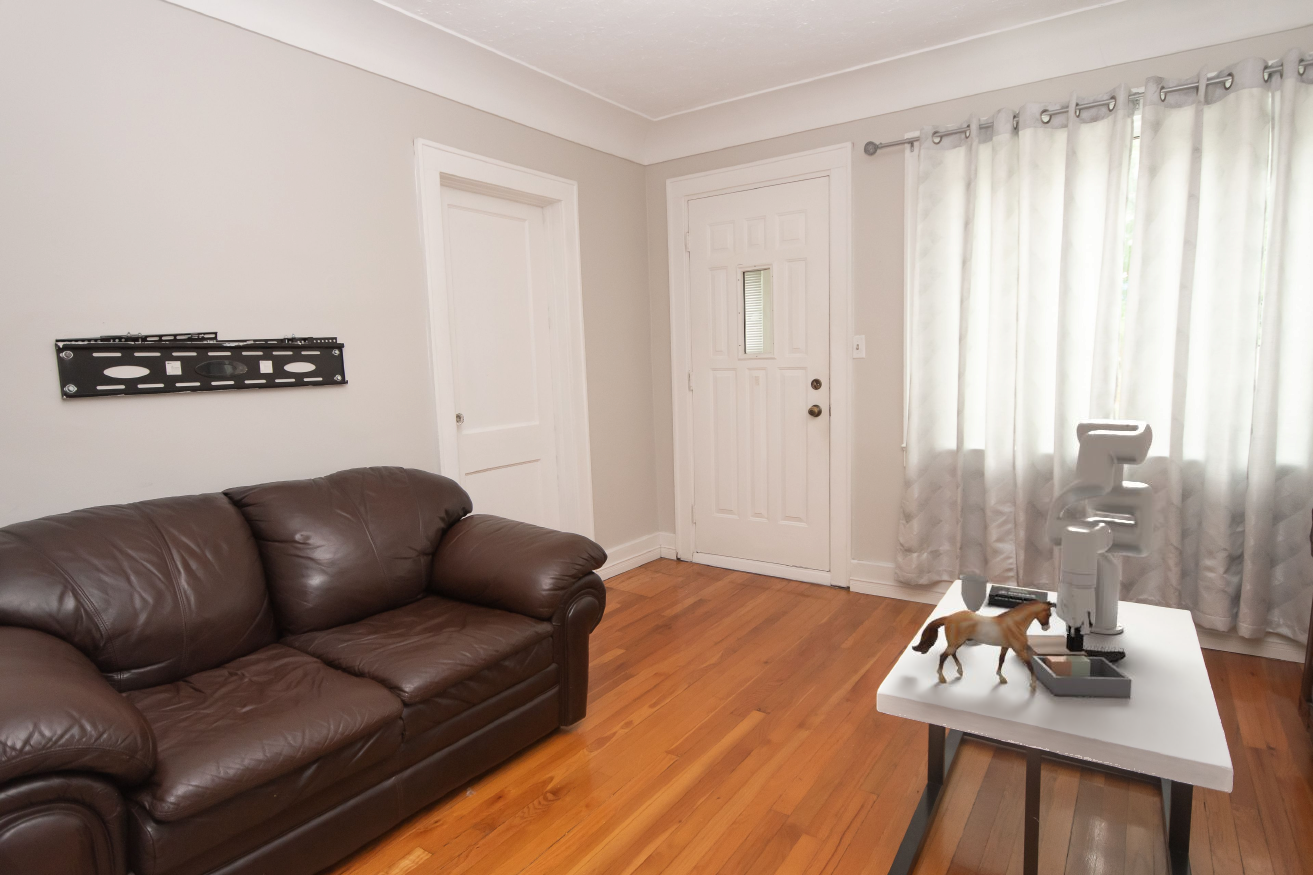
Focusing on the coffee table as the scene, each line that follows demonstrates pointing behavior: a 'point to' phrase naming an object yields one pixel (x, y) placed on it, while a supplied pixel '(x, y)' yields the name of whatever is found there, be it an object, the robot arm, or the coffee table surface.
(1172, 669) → the coffee table surface
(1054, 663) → the peach cube block
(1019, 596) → the wireless router
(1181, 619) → the coffee table surface
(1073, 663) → the pale green cube
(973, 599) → the chalice
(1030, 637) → the brown square platform
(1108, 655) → the hairbrush
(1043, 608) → the horse figurine
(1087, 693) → the box
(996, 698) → the coffee table surface
